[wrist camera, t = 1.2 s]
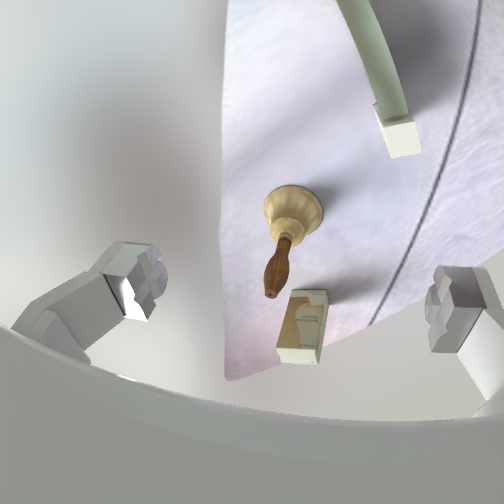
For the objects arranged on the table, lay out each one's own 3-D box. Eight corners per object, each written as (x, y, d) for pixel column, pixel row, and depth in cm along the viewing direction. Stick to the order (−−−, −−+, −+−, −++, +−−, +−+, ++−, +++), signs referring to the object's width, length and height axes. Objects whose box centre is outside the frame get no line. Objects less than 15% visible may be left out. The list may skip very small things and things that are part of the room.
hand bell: (304, 175, 39) (282, 252, 27) (332, 224, 43) (322, 311, 31) (253, 199, 44) (213, 276, 32) (283, 242, 47) (256, 326, 35)
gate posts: (304, -92, 16) (290, -127, 9) (403, 123, 31) (421, 152, 24) (280, -84, 18) (258, -118, 10) (379, 128, 32) (391, 158, 25)
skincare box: (326, 288, 51) (317, 349, 42) (329, 306, 53) (320, 365, 44) (289, 289, 53) (274, 348, 44) (294, 306, 55) (280, 363, 46)
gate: (321, -66, 18) (314, -91, 12) (395, 97, 29) (409, 113, 23) (299, -60, 19) (286, -84, 13) (373, 102, 30) (382, 119, 24)
